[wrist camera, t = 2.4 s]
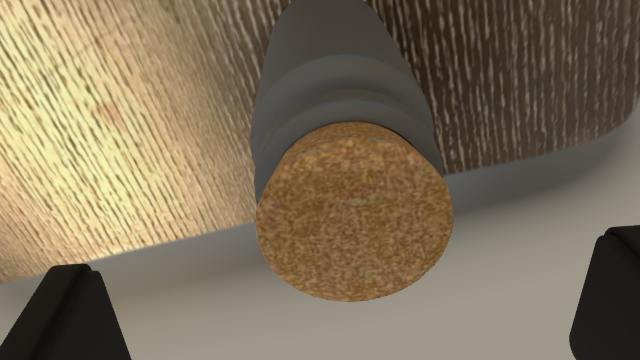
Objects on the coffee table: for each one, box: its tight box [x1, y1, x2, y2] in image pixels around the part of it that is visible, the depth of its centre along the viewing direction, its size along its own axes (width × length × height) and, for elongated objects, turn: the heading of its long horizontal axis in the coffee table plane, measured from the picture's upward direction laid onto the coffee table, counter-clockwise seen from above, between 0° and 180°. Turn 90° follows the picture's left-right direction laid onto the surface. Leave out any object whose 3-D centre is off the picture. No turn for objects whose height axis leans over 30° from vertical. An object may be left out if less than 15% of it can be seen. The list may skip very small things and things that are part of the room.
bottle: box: [250, 0, 454, 302], centre depth 18 cm, size 6×6×15 cm
